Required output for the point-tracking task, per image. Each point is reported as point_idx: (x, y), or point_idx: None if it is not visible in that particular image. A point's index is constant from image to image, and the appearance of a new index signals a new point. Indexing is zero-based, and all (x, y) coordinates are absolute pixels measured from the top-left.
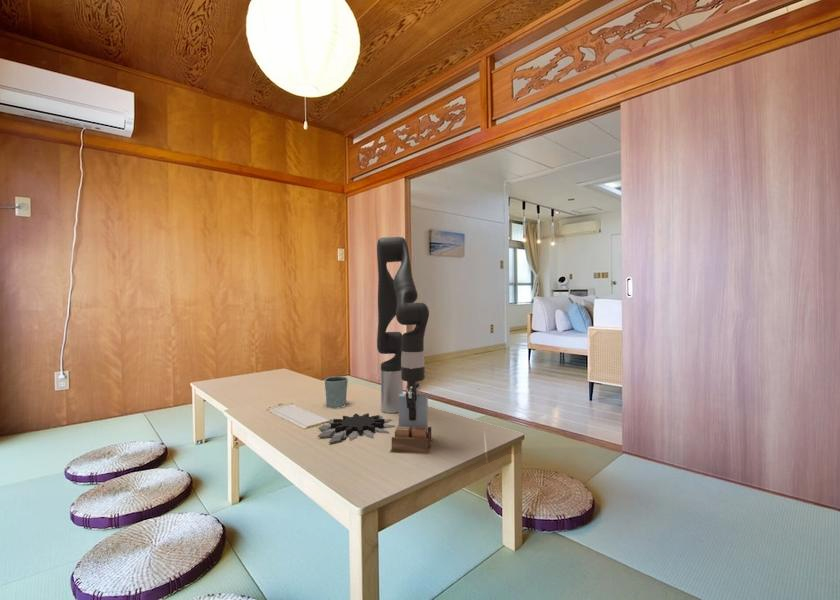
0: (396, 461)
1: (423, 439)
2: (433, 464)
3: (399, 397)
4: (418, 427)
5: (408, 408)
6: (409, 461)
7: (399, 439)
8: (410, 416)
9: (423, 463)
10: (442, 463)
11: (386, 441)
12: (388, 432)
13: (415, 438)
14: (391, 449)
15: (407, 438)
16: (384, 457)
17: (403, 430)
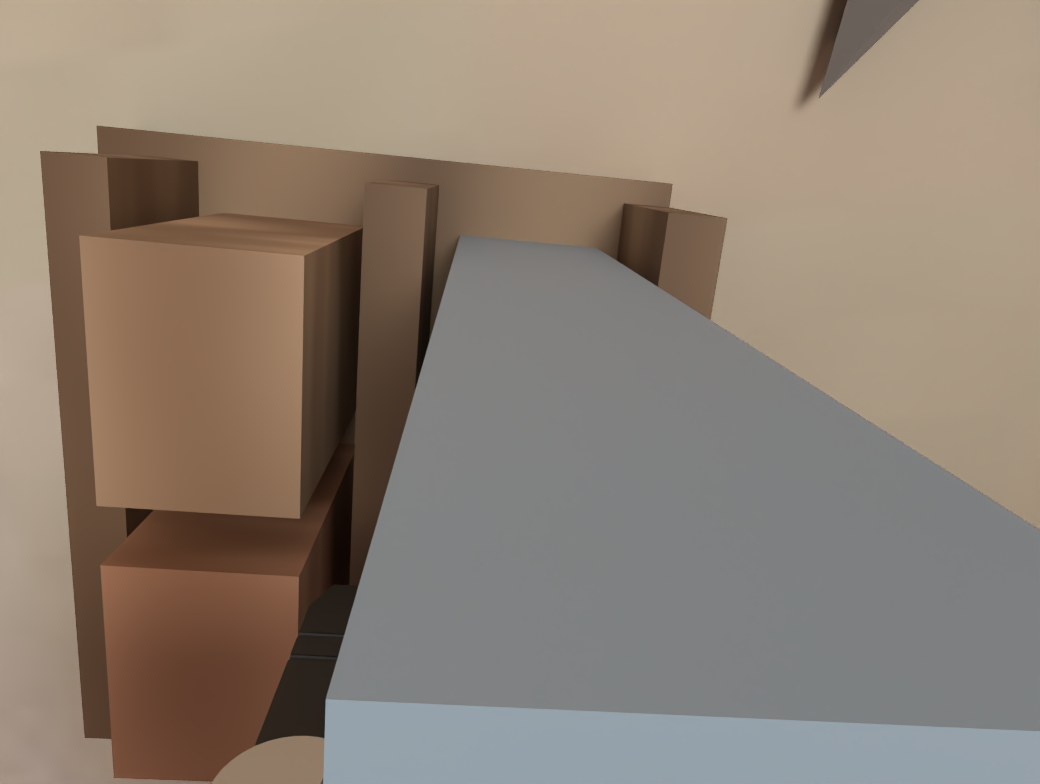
0: (23, 240)
1: (83, 681)
2: (29, 649)
3: (360, 697)
4: (284, 667)
5: (249, 758)
6: (55, 398)
7: (66, 302)
8: (299, 643)
9: (32, 552)
10: (72, 728)
11: (695, 15)
12: (879, 14)
13: (94, 569)
14: (205, 147)
15: (66, 446)
16: (118, 58)
17: (95, 403)
